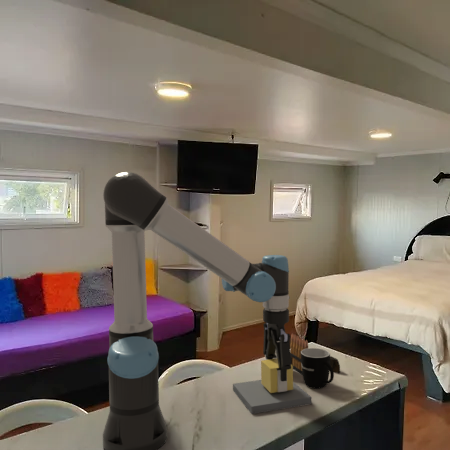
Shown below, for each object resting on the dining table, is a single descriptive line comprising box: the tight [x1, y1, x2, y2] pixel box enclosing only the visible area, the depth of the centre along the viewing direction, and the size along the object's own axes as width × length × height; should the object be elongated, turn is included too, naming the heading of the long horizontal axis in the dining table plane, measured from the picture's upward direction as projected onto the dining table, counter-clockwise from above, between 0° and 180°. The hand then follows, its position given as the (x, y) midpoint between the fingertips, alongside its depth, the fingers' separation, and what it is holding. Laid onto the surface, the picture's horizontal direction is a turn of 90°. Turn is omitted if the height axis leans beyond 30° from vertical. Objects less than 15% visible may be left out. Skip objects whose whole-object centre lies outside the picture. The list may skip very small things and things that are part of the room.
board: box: [232, 379, 312, 415], centre depth 126 cm, size 18×16×6 cm
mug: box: [301, 347, 335, 390], centre depth 133 cm, size 12×9×10 cm
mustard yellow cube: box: [260, 358, 294, 393], centre depth 127 cm, size 7×7×7 cm
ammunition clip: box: [290, 332, 309, 376], centre depth 146 cm, size 11×2×12 cm, turn 22°
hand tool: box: [329, 355, 341, 374], centre depth 151 cm, size 19×4×5 cm, turn 29°
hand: (276, 385), depth 127 cm, fingers closed on mustard yellow cube, 7 cm apart
